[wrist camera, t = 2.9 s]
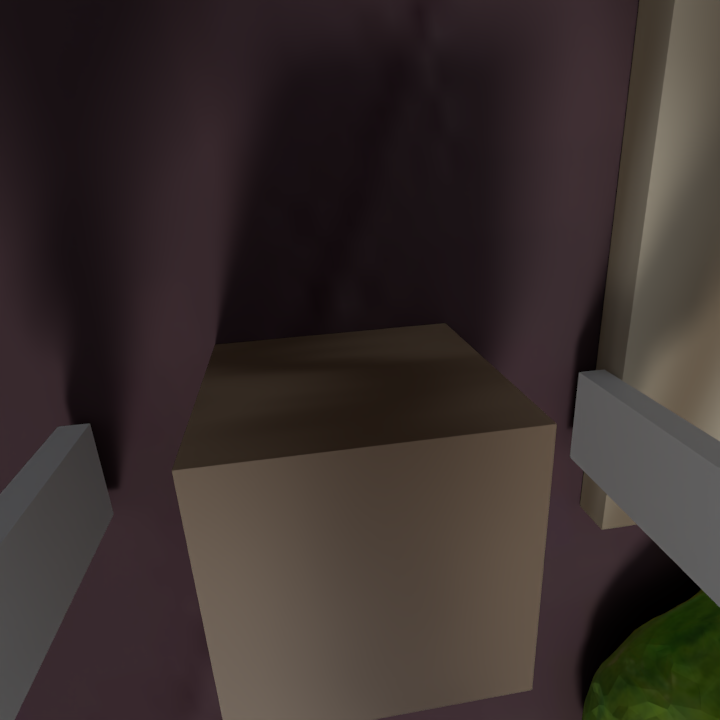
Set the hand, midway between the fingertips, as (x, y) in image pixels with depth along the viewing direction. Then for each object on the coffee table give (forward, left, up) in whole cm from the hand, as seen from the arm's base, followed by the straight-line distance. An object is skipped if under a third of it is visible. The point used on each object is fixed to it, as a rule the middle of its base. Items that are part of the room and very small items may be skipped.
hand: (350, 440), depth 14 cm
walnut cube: (0, 0, -1) cm, 1 cm away
